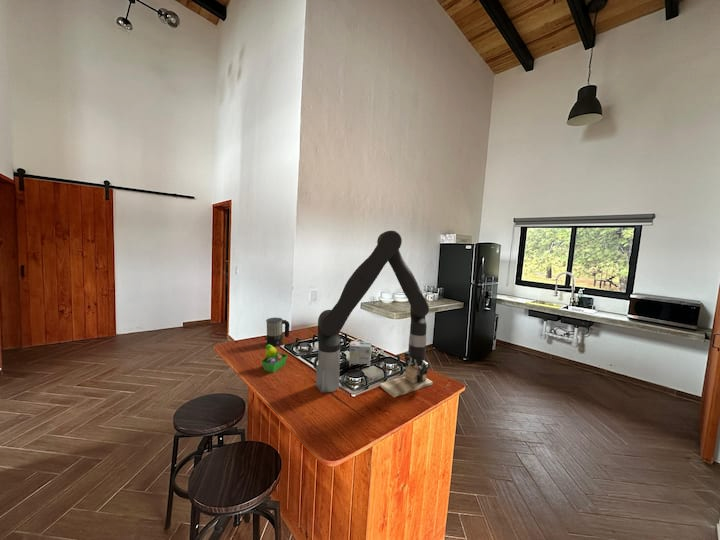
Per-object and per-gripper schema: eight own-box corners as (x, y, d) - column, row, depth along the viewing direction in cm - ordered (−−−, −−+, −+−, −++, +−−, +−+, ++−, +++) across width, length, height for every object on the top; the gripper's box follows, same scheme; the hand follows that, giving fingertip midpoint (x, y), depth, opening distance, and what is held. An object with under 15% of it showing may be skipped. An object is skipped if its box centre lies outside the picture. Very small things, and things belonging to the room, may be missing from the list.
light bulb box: (370, 361, 151) (371, 341, 149) (369, 367, 144) (370, 346, 143) (350, 360, 152) (351, 340, 150) (348, 365, 145) (349, 345, 144)
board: (393, 397, 118) (394, 394, 118) (379, 386, 126) (379, 383, 126) (432, 384, 130) (432, 381, 129) (417, 374, 138) (417, 372, 138)
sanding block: (412, 384, 126) (413, 371, 126) (405, 379, 131) (405, 366, 130) (426, 380, 130) (426, 367, 130) (418, 375, 135) (419, 363, 134)
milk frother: (273, 348, 163) (273, 323, 162) (255, 342, 172) (255, 317, 170) (291, 341, 176) (292, 317, 174) (273, 335, 184) (273, 312, 182)
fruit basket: (273, 374, 134) (273, 351, 132) (258, 370, 137) (258, 347, 135) (288, 364, 144) (288, 342, 143) (273, 361, 147) (273, 339, 146)
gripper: (400, 339, 132) (398, 374, 134) (422, 350, 120) (420, 388, 122) (412, 336, 136) (410, 370, 138) (435, 347, 124) (432, 384, 126)
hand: (415, 379), depth 130 cm, fingers closed on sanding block, 5 cm apart
